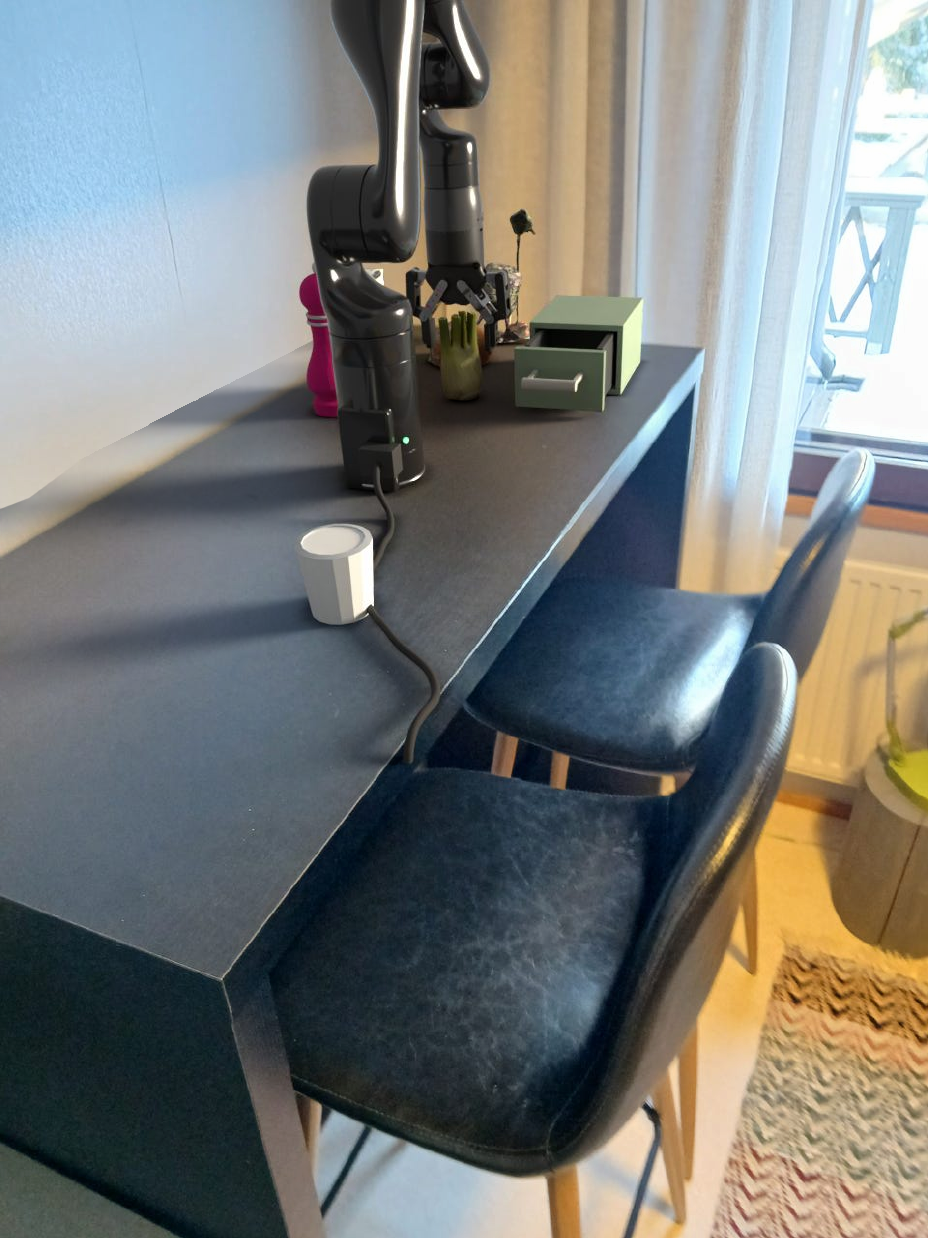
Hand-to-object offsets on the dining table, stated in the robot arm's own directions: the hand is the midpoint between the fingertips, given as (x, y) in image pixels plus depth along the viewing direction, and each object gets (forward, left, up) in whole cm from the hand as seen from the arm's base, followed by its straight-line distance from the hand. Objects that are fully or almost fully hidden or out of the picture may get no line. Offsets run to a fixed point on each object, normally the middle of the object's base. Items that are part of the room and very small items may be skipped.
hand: (460, 348), depth 129 cm
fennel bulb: (0, 0, -7) cm, 7 cm away
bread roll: (+17, +6, -7) cm, 19 cm away
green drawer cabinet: (+13, -15, -7) cm, 21 cm away
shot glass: (-57, -8, -7) cm, 58 cm away
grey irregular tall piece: (+30, +2, -7) cm, 31 cm away
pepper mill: (-8, +16, -7) cm, 19 cm away
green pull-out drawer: (0, -15, -6) cm, 16 cm away
